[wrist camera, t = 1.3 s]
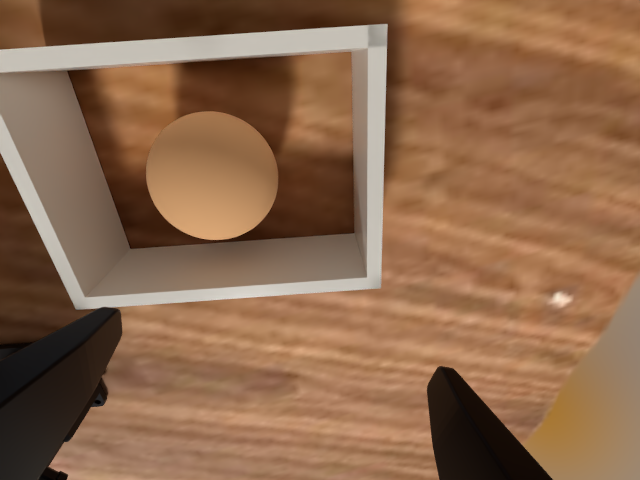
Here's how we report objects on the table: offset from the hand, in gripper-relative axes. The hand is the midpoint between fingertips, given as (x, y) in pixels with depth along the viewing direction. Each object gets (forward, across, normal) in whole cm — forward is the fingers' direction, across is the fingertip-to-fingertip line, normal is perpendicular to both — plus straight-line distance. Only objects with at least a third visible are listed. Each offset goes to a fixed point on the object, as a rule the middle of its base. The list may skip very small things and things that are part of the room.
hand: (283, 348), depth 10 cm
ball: (+9, +4, -1) cm, 10 cm away
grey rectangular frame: (+12, +5, -1) cm, 13 cm away
